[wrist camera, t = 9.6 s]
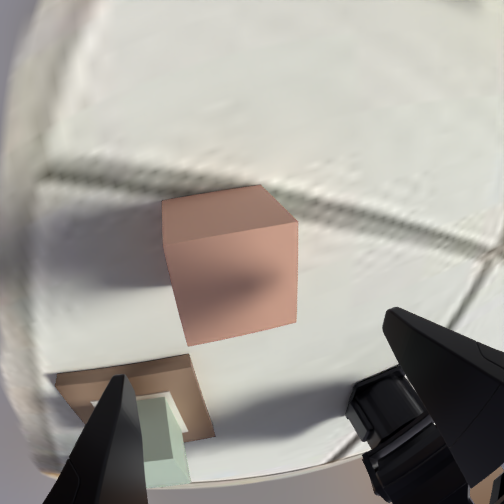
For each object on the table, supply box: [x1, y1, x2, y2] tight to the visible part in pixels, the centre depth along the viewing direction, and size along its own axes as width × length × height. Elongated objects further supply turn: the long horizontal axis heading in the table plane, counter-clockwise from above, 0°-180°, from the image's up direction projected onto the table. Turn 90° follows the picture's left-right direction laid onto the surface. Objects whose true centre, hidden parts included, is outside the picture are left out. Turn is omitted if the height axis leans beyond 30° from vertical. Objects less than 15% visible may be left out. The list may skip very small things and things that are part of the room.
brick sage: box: [136, 397, 191, 488], centre depth 18 cm, size 5×5×5 cm
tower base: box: [55, 354, 216, 442], centre depth 21 cm, size 10×10×1 cm
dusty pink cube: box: [162, 185, 298, 346], centre depth 15 cm, size 5×5×5 cm
